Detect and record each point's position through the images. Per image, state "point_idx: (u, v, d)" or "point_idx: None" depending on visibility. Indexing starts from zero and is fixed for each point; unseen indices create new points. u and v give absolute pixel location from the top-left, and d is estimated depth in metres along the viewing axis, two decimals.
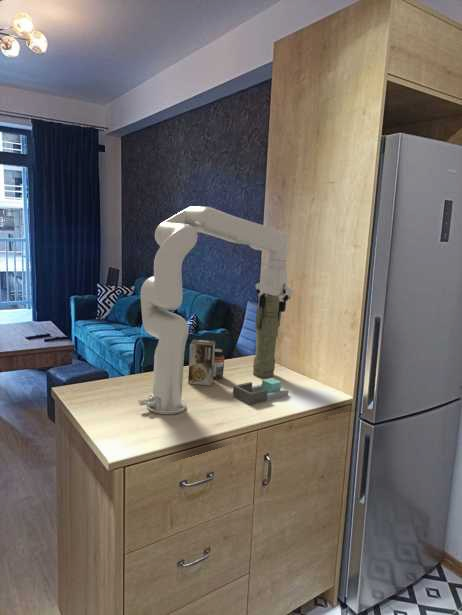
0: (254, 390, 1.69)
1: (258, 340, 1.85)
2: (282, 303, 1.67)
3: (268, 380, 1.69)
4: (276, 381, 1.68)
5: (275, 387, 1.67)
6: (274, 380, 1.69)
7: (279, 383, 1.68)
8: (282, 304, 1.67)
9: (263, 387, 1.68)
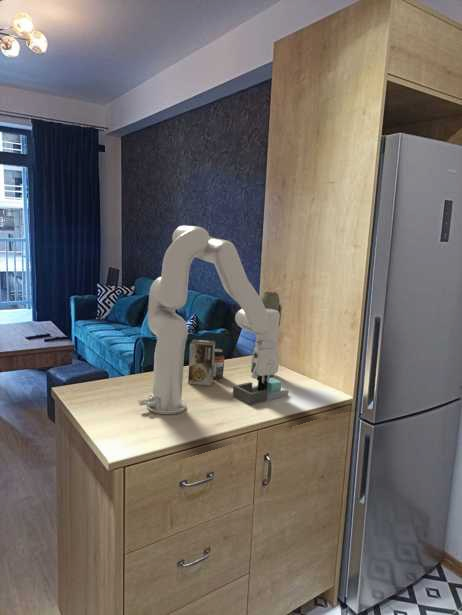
0: (254, 390, 1.69)
1: None
2: None
3: None
4: (276, 381, 1.68)
5: (276, 386, 1.67)
6: (274, 380, 1.69)
7: (279, 383, 1.68)
8: None
9: None
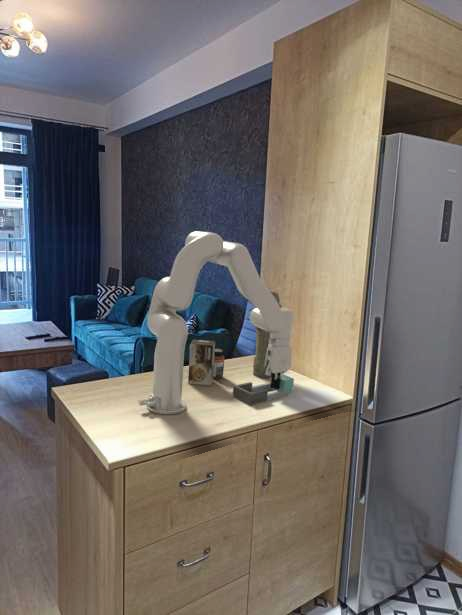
0: (254, 390, 1.69)
1: (258, 340, 1.85)
2: None
3: None
4: (289, 378, 1.73)
5: (288, 383, 1.71)
6: (287, 377, 1.74)
7: (292, 380, 1.72)
8: None
9: None
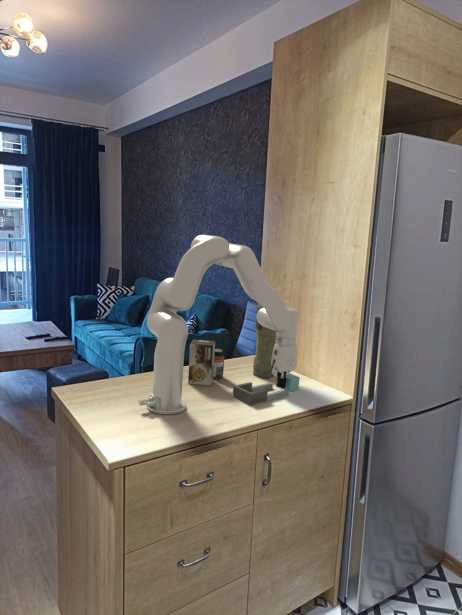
0: (254, 390, 1.69)
1: (258, 340, 1.85)
2: None
3: None
4: (295, 376, 1.75)
5: (294, 382, 1.73)
6: (293, 375, 1.76)
7: (298, 378, 1.74)
8: None
9: None
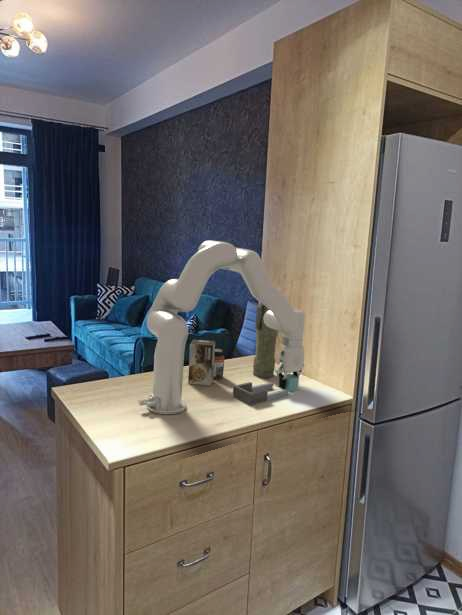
0: (254, 390, 1.69)
1: (258, 340, 1.85)
2: None
3: (286, 376, 1.75)
4: (294, 377, 1.75)
5: (294, 382, 1.73)
6: (292, 376, 1.75)
7: (297, 378, 1.74)
8: None
9: None
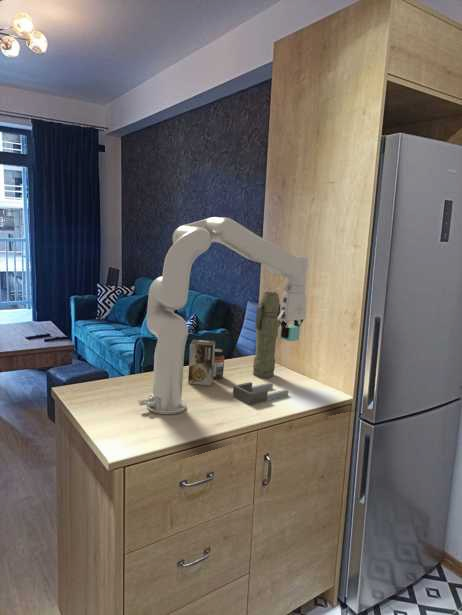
0: (254, 390, 1.69)
1: (258, 340, 1.85)
2: None
3: None
4: (295, 326, 1.69)
5: (294, 331, 1.68)
6: (293, 326, 1.70)
7: (298, 328, 1.69)
8: None
9: None
